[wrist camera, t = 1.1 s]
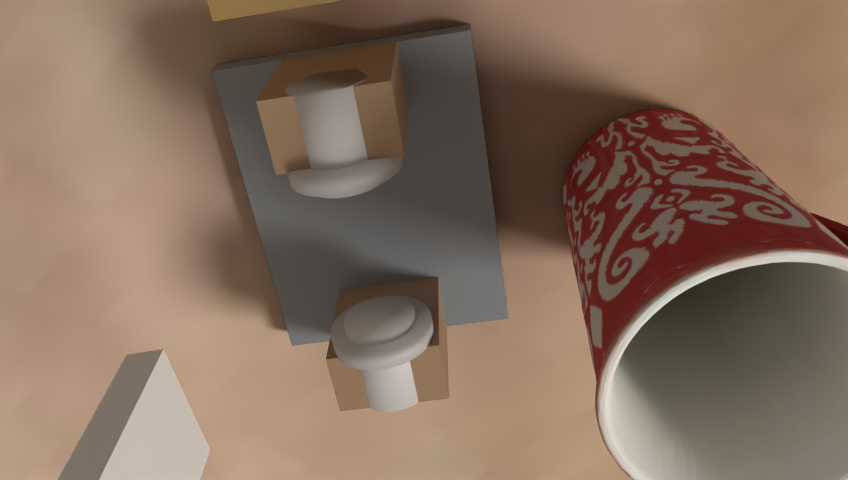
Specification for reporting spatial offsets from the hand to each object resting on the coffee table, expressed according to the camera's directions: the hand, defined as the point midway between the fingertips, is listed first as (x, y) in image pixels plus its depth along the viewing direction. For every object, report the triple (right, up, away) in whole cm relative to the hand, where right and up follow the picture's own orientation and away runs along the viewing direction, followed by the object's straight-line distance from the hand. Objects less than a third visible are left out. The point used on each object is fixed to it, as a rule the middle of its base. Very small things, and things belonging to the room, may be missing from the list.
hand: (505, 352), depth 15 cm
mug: (+10, +4, +18) cm, 21 cm away
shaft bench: (-4, +4, +18) cm, 19 cm away
